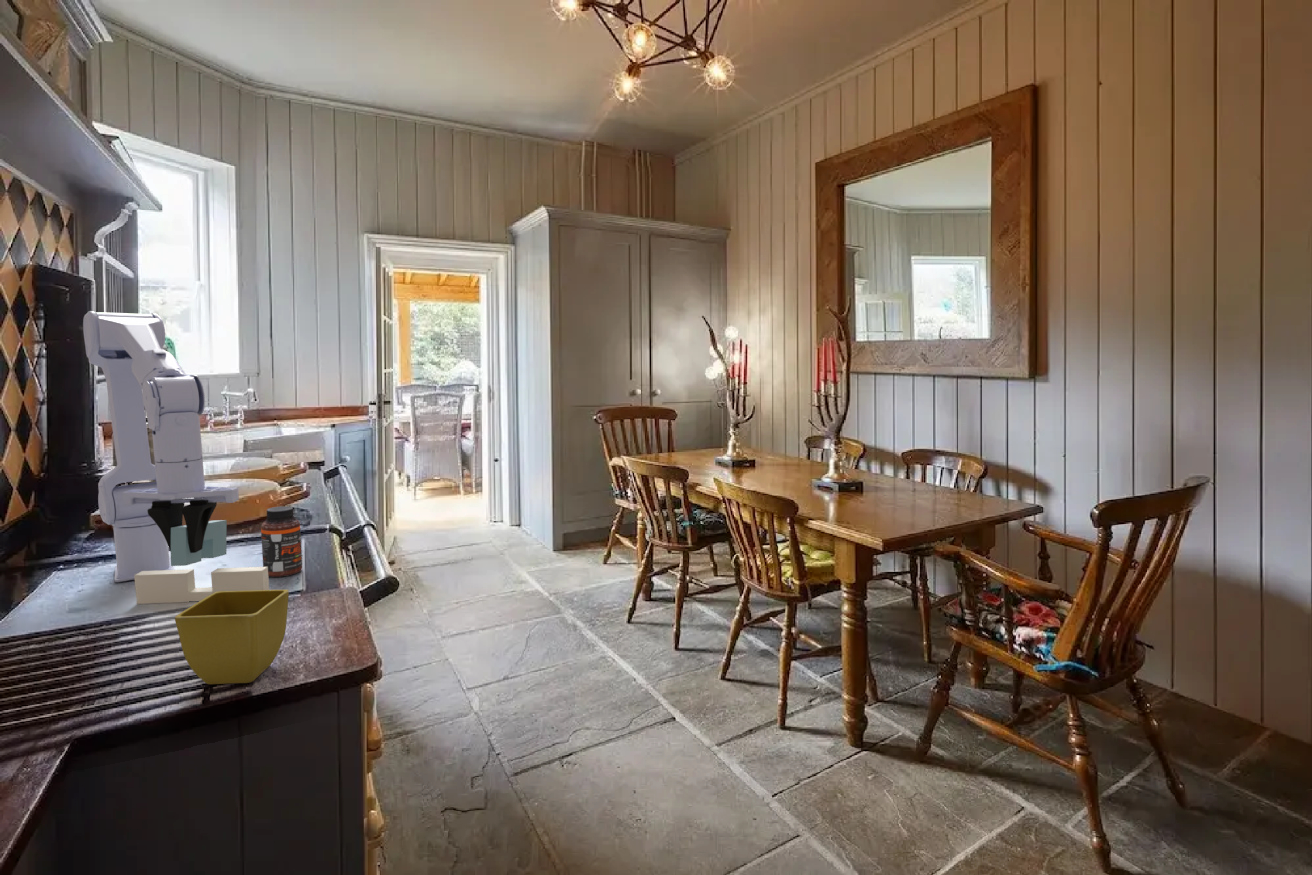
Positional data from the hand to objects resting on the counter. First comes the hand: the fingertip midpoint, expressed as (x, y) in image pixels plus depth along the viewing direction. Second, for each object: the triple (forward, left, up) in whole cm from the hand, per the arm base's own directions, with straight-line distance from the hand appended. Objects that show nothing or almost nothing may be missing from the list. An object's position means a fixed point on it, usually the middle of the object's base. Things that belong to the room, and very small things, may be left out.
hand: (186, 551), depth 101 cm
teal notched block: (-3, +2, -2) cm, 4 cm away
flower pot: (+29, +3, -9) cm, 30 cm away
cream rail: (-3, +2, -9) cm, 9 cm away
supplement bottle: (-10, +14, -9) cm, 19 cm away
